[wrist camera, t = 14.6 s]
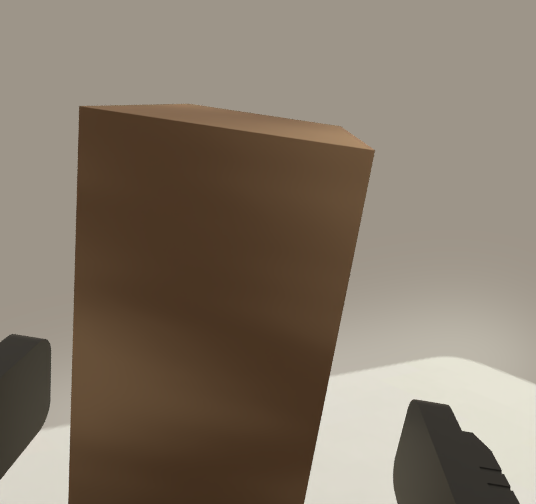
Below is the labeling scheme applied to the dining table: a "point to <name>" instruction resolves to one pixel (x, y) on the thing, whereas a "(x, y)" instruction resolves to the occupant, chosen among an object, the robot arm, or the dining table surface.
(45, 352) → the robot arm
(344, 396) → the dining table surface
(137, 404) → the tall board
